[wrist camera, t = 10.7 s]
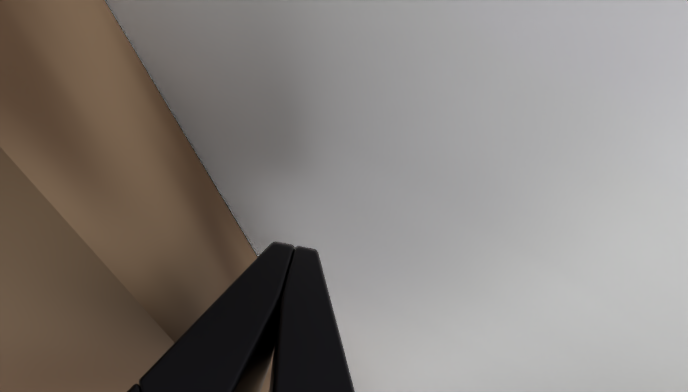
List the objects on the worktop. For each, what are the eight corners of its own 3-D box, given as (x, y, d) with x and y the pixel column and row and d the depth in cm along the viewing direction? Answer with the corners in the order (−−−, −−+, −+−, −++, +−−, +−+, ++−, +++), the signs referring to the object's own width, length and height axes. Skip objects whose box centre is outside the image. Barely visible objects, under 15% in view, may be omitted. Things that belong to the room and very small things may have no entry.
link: (-176, 32, 8) (-436, 119, 6) (64, -68, 7) (-143, -13, 4) (246, 460, 18) (222, 557, 16) (376, 457, 17) (372, 564, 14)
